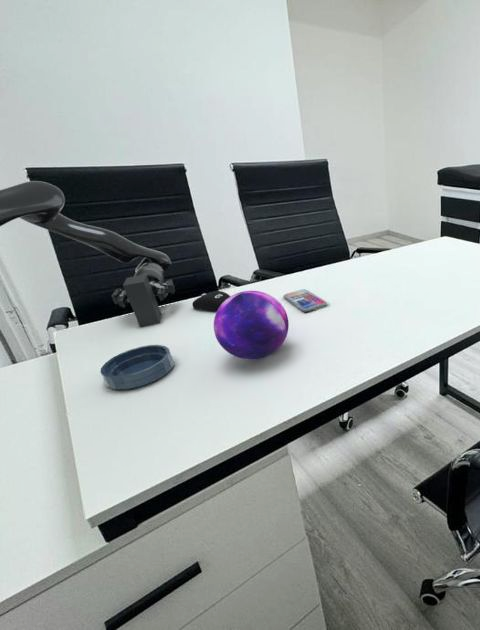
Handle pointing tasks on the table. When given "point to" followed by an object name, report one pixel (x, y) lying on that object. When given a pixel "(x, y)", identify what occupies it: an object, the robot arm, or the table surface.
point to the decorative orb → (251, 325)
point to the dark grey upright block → (142, 300)
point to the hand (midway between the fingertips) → (142, 300)
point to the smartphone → (305, 300)
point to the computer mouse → (210, 301)
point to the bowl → (137, 367)
